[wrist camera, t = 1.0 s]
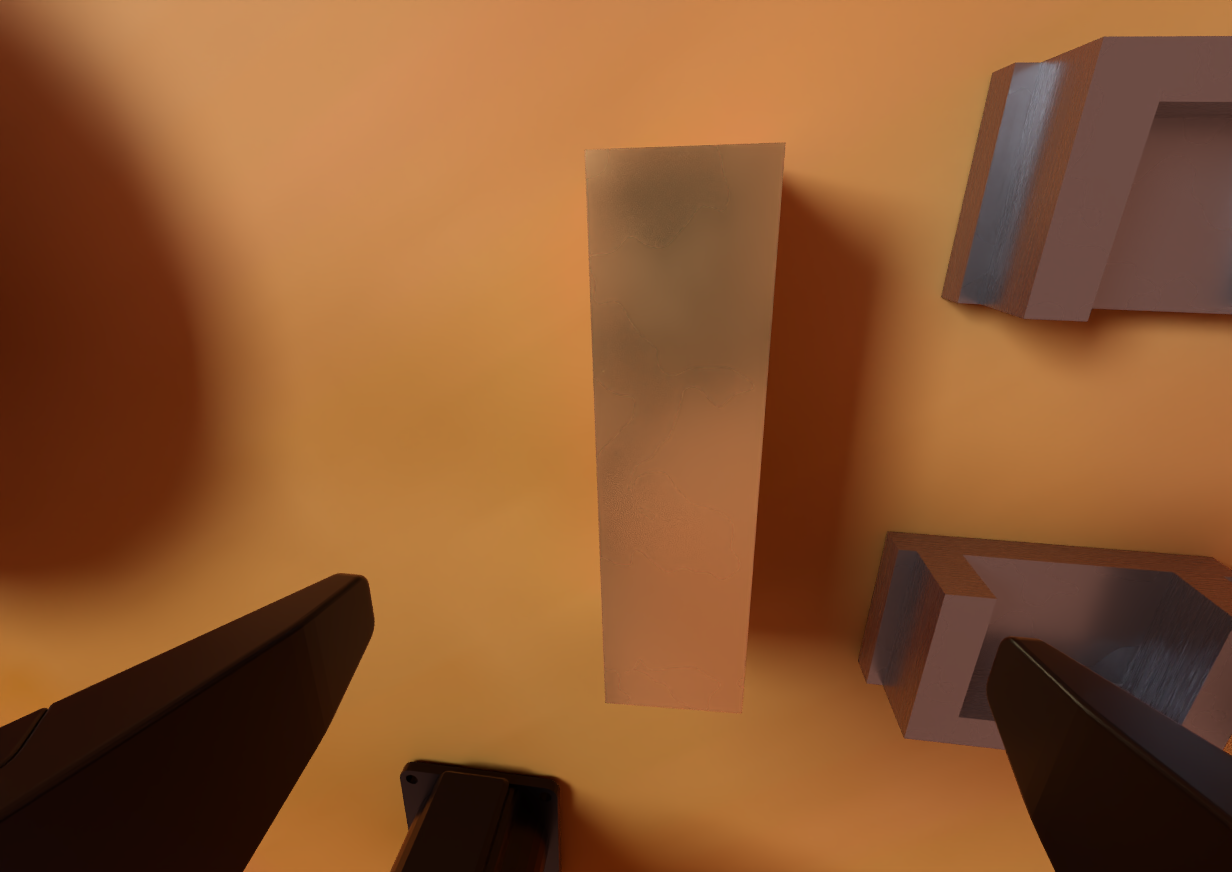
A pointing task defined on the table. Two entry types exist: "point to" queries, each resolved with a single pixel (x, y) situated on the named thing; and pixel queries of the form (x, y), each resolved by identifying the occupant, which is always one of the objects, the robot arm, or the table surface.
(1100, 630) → the grey frame
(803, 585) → the table surface
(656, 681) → the brown rectangular block
